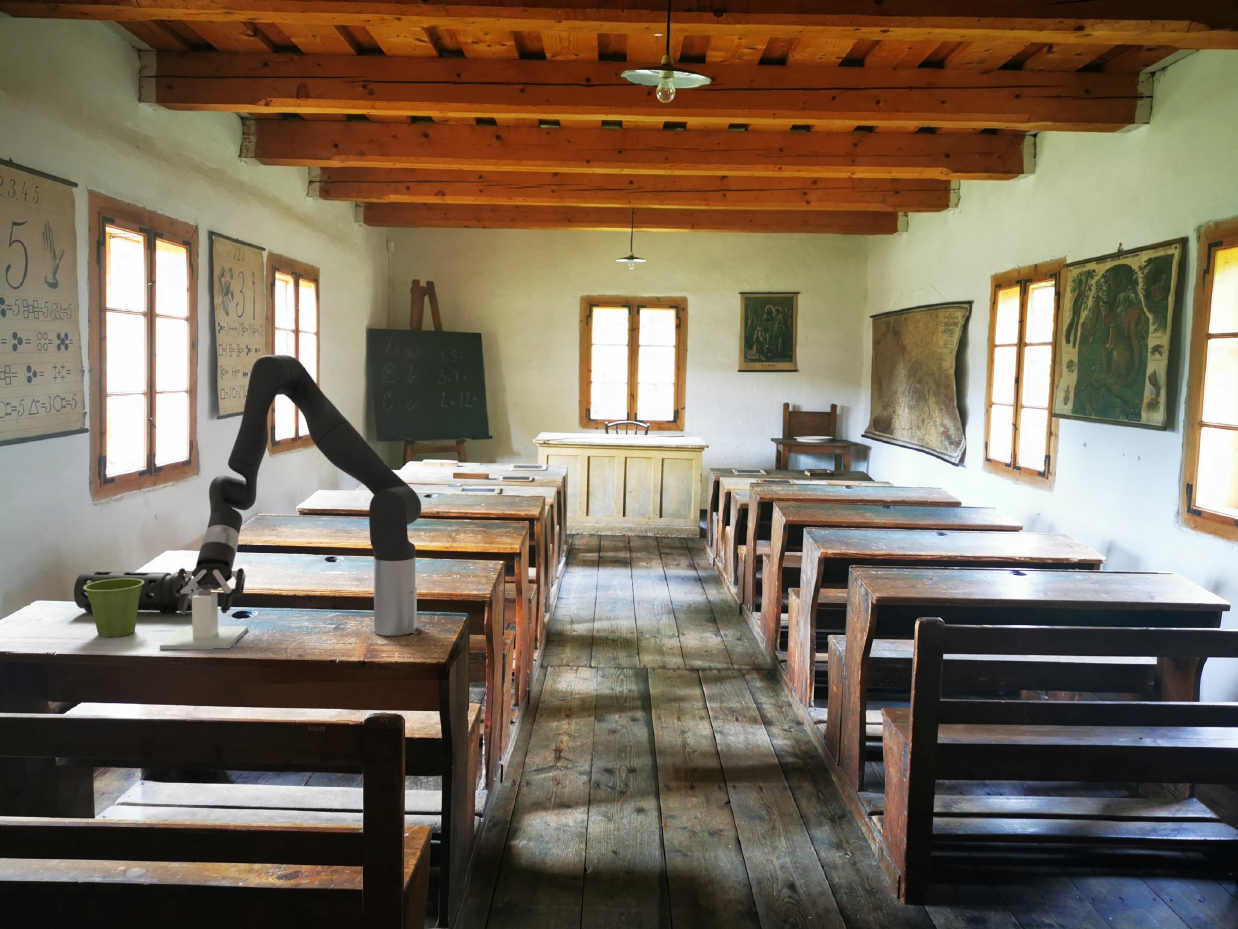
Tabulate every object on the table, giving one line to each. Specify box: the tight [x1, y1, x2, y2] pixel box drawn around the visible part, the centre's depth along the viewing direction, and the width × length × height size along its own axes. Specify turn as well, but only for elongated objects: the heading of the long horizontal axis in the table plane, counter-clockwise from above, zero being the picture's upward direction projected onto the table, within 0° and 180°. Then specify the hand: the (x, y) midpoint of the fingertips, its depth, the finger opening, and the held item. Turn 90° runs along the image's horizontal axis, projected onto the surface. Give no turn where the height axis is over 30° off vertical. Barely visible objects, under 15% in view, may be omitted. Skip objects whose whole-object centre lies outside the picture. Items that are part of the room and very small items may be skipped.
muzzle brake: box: [73, 570, 203, 615], centre depth 218 cm, size 10×28×10 cm, turn 91°
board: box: [159, 625, 249, 650], centre depth 198 cm, size 14×14×1 cm
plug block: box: [191, 589, 219, 638], centre depth 197 cm, size 4×4×10 cm
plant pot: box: [83, 578, 144, 638], centre depth 200 cm, size 12×12×11 cm
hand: (202, 611), depth 196 cm, fingers open, 8 cm apart
